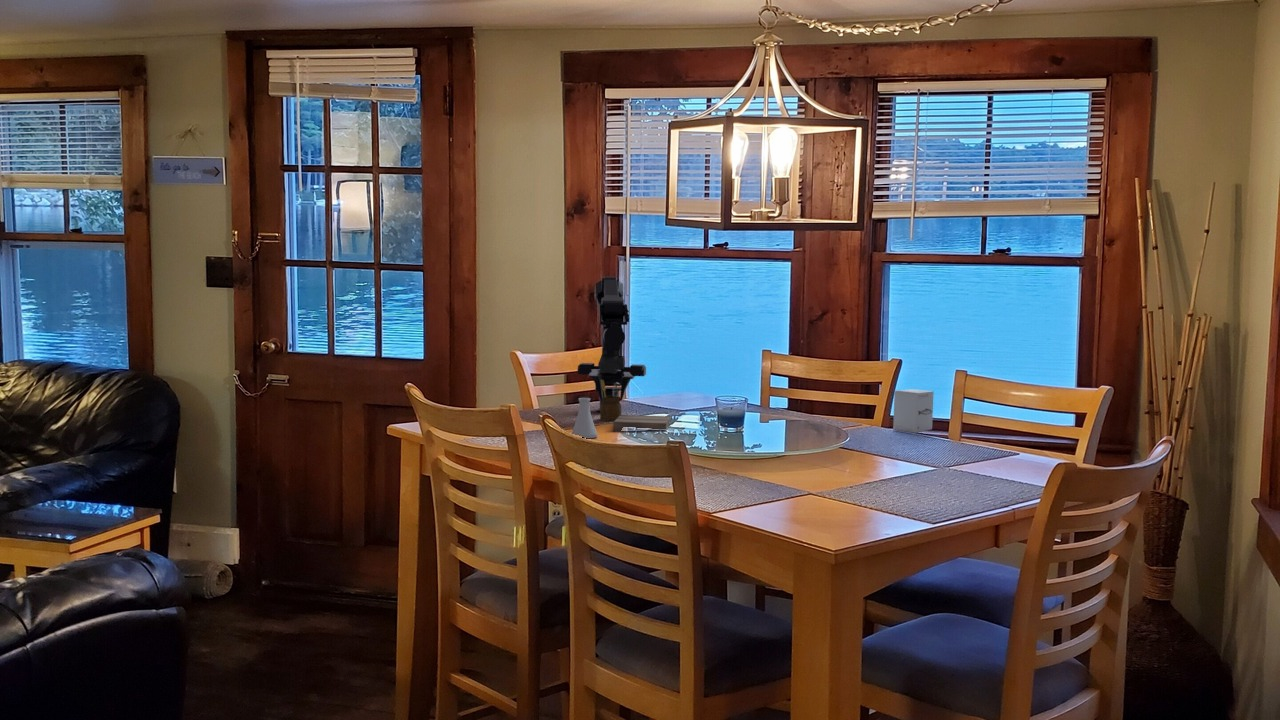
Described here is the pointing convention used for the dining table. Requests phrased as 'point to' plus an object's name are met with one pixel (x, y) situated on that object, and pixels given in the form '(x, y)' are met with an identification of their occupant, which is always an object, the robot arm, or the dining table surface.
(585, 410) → the flask
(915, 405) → the supplement box
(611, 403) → the utensil holder
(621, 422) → the walnut plinth
